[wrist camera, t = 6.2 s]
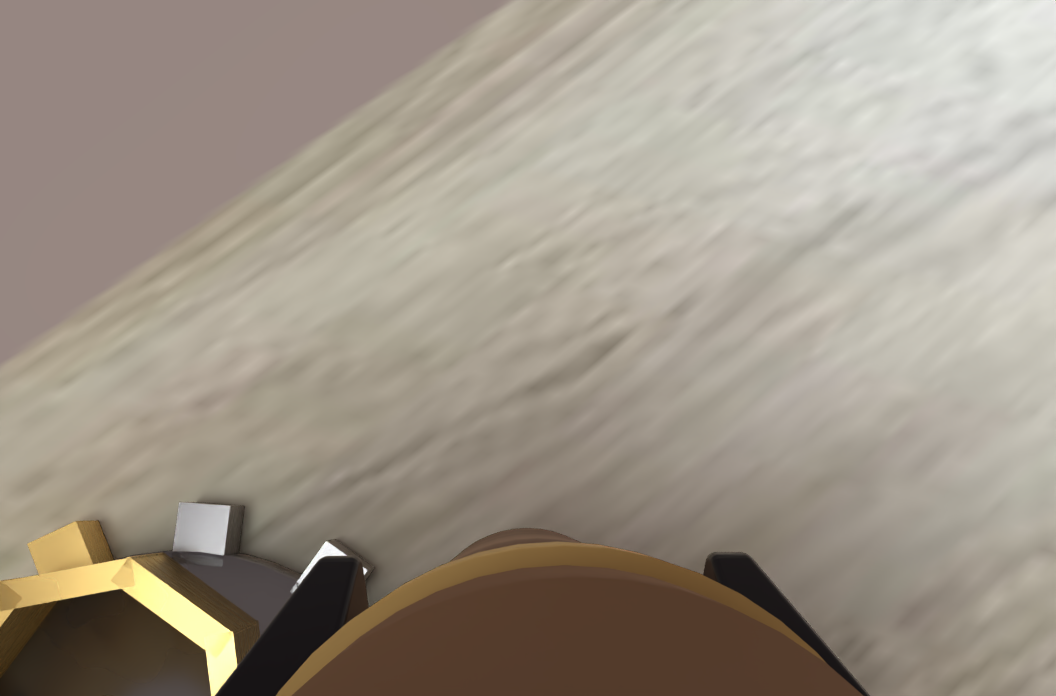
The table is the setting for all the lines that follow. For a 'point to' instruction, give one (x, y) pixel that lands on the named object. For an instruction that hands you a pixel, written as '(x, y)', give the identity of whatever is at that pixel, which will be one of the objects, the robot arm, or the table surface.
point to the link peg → (563, 631)
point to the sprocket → (141, 610)
